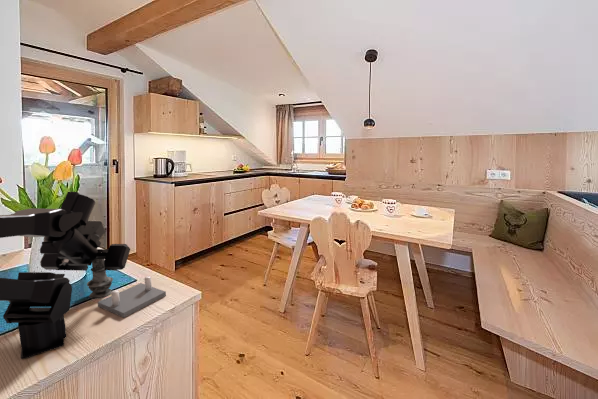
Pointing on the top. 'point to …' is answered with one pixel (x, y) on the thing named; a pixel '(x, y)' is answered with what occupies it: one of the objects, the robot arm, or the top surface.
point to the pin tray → (131, 298)
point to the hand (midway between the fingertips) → (101, 268)
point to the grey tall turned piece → (99, 280)
